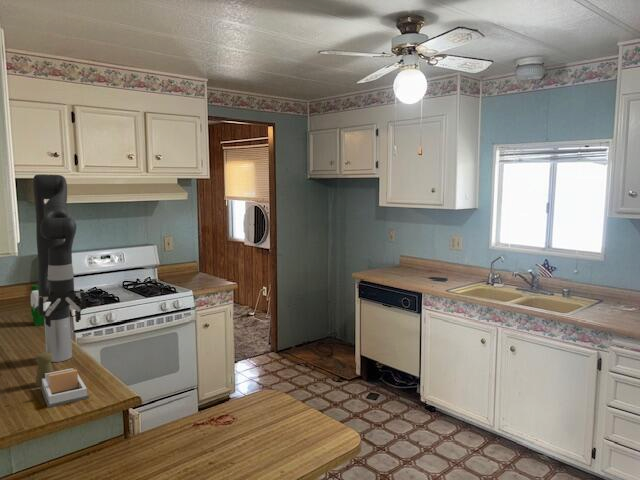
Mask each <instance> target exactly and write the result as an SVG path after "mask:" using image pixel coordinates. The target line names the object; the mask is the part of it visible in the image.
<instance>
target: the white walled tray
mask: <svg viewBox="0 0 640 480" xmlns="http://www.w3.org/2000/svg"><path fill="white" fill-rule="evenodd" d="M71 370H75V369H74V368H72V367H71V368H66V369H62V370H56V371H53V372H51V373H46V374H45V378H42V385H41V387H40V390H41V393H42V395H43V398H44V400H45V403H46V406H47V408H53V407H56V406H61V405H64V404H66V405H67V404H70V403H73V402H74V403H75V402H79V401H82V400H87V399H89V398H90V395H89V393H88V388H87V387H86V385H85V382H83V380H82V378H81V376H80V375H79V373H78V372H77V374H78V388H74V389H69V390H65V391H60V392H56V393H51V391H50V386H49V375H51V374H56V373H61V372H66V371H71Z"/></svg>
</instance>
